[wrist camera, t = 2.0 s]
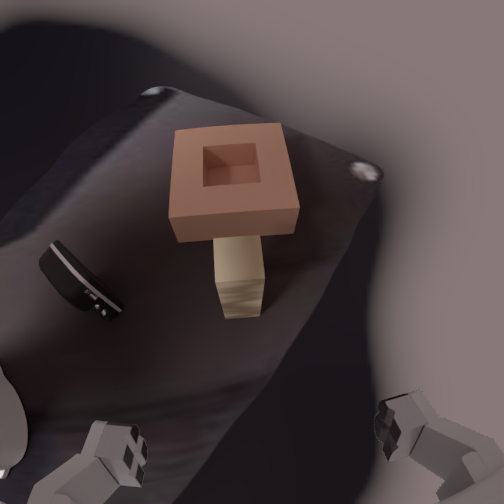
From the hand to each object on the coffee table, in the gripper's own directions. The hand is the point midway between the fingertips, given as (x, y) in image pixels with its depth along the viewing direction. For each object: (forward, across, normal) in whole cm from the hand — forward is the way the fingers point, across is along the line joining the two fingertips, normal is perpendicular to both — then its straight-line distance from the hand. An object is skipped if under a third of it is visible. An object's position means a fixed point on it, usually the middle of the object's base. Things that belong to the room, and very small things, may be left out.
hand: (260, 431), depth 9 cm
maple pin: (+26, 0, +9) cm, 28 cm away
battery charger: (+27, +18, +8) cm, 34 cm away
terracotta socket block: (+38, 0, -2) cm, 38 cm away
